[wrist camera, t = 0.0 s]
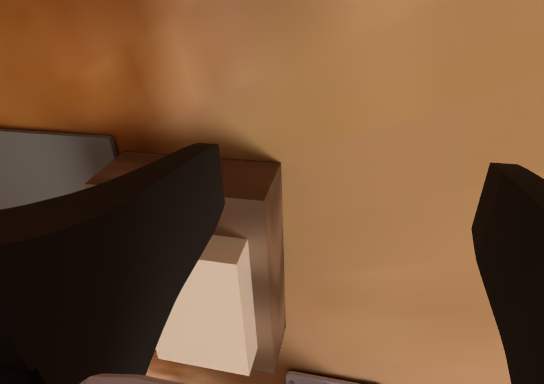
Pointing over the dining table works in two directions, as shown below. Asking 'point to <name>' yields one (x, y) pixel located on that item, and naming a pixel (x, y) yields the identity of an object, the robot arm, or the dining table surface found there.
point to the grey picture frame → (48, 164)
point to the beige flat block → (214, 312)
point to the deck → (243, 224)
